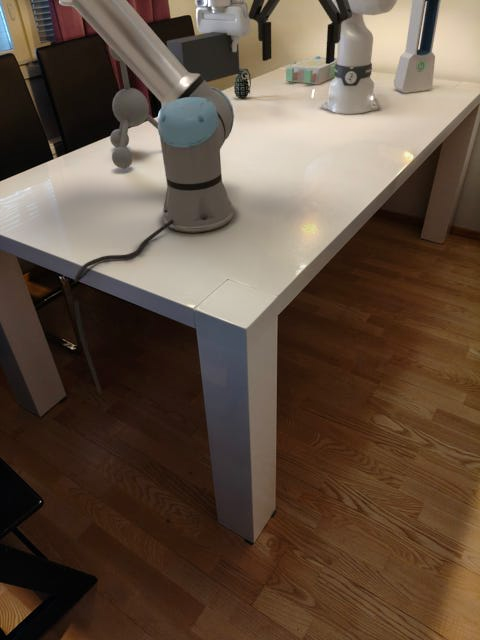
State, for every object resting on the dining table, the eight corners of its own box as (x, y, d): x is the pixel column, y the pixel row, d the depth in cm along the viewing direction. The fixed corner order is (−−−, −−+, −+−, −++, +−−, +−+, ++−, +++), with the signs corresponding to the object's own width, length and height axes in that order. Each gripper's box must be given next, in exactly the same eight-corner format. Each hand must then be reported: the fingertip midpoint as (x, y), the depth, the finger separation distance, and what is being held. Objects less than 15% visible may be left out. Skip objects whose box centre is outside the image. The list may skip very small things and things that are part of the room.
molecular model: (194, 159, 136) (181, 36, 117) (116, 174, 130) (89, 47, 112) (172, 136, 153) (158, 26, 135) (102, 148, 148) (77, 35, 129)
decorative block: (308, 54, 216) (349, 57, 207) (307, 70, 220) (348, 74, 211) (277, 65, 200) (320, 69, 191) (277, 82, 204) (319, 87, 195)
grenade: (232, 99, 186) (230, 70, 180) (236, 95, 190) (234, 67, 184) (249, 99, 184) (248, 70, 178) (252, 96, 189) (251, 67, 182)
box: (186, 88, 145) (181, 42, 138) (172, 85, 149) (166, 40, 142) (239, 73, 158) (237, 31, 151) (225, 71, 162) (223, 29, 154)
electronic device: (402, 93, 181) (416, -3, 162) (392, 89, 186) (404, -5, 168) (432, 89, 183) (449, -6, 165) (421, 85, 189) (436, -8, 170)
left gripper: (377, -81, 82) (364, 60, 95) (247, -71, 92) (250, 54, 105) (364, -81, 77) (352, 67, 90) (227, -71, 87) (234, 61, 100)
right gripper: (254, -2, 142) (255, 51, 150) (205, -3, 153) (209, 46, 162) (239, 0, 138) (241, 55, 147) (191, -1, 150) (195, 49, 158)
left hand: (297, 61), depth 97 cm, fingers open, 13 cm apart
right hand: (224, 50), depth 154 cm, fingers closed on box, 6 cm apart
